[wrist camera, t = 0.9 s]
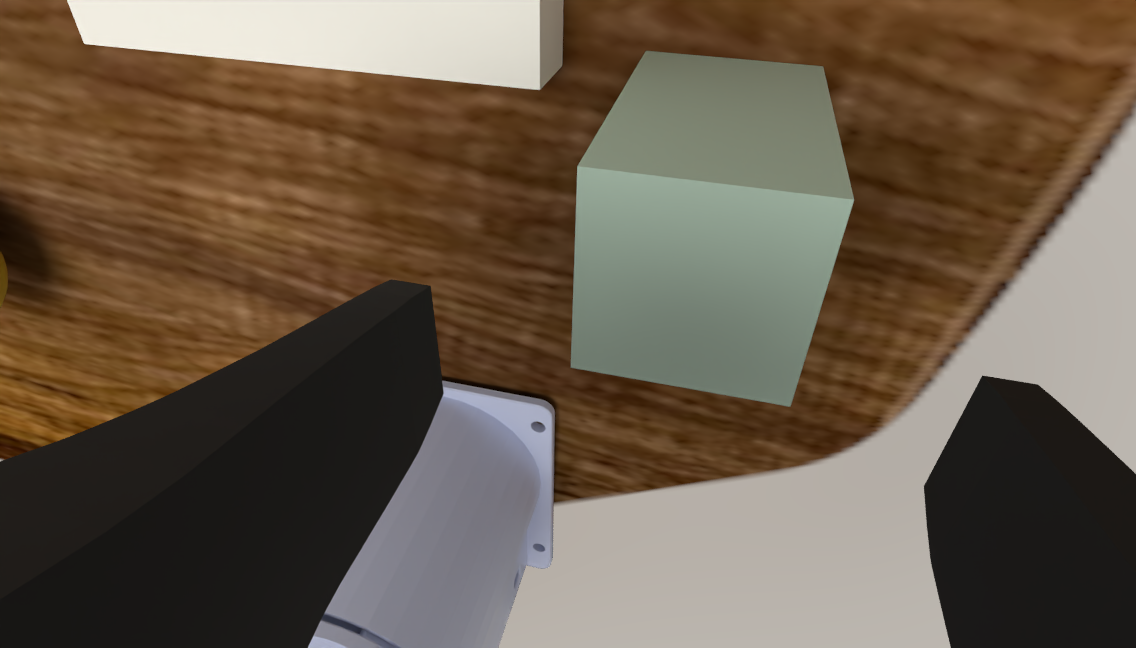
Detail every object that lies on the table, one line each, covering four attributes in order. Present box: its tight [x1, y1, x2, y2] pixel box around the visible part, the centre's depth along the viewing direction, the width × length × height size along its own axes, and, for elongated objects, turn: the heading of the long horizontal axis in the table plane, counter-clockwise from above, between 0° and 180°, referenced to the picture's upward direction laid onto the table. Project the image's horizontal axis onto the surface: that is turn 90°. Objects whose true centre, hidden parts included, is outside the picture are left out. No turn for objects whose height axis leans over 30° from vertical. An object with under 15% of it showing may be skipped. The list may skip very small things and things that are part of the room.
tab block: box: [571, 51, 854, 407], centre depth 14 cm, size 4×4×7 cm
